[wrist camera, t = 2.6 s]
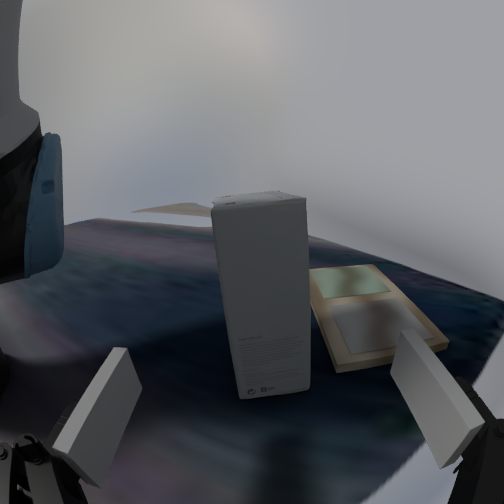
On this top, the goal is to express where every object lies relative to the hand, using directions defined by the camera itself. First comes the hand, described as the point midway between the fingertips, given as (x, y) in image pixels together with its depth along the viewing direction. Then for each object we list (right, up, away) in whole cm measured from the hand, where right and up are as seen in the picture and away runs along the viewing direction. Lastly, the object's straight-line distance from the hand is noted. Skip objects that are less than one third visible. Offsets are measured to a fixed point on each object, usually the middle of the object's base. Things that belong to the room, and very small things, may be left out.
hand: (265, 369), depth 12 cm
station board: (+13, -1, +20) cm, 24 cm away
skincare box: (+1, -5, +12) cm, 13 cm away
